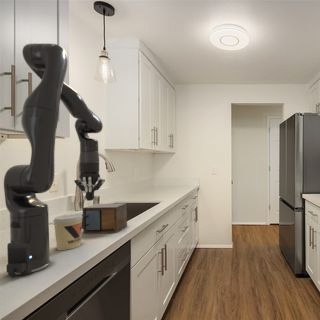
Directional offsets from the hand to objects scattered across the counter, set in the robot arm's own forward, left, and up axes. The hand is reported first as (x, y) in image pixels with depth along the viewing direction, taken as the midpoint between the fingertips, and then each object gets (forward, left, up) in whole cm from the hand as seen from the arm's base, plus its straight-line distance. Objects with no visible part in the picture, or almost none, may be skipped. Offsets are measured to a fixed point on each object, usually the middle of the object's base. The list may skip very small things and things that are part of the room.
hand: (90, 200), depth 106 cm
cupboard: (+10, -1, -16) cm, 19 cm away
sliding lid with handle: (+4, +3, -15) cm, 16 cm away
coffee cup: (-12, +1, -17) cm, 20 cm away
